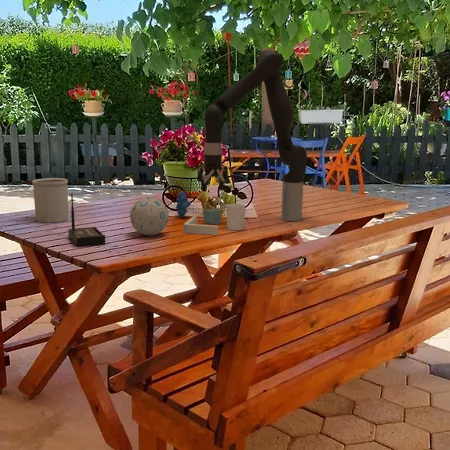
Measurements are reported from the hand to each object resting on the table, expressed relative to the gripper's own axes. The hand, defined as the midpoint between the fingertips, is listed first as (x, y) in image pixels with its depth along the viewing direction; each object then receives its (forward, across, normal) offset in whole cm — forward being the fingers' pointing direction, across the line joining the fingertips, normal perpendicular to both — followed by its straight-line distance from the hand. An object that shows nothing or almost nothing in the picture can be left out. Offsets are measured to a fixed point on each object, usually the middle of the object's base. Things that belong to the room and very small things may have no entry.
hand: (212, 190), depth 267 cm
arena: (+14, -10, -10) cm, 20 cm away
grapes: (+14, -5, +16) cm, 22 cm away
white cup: (+14, +2, -15) cm, 21 cm away
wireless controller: (+15, -59, -2) cm, 61 cm away
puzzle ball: (+14, -34, -7) cm, 37 cm away
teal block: (+14, 0, 0) cm, 14 cm away
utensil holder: (+14, -58, +40) cm, 72 cm away
